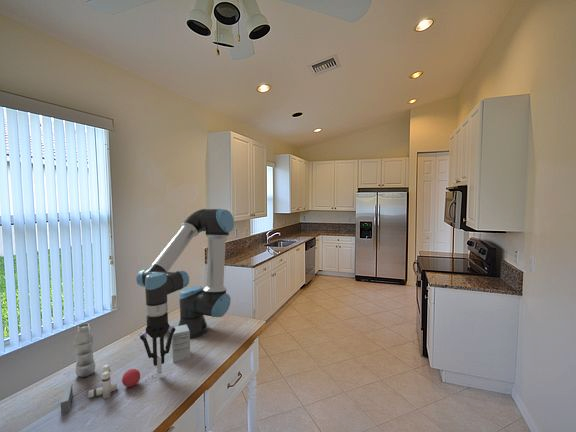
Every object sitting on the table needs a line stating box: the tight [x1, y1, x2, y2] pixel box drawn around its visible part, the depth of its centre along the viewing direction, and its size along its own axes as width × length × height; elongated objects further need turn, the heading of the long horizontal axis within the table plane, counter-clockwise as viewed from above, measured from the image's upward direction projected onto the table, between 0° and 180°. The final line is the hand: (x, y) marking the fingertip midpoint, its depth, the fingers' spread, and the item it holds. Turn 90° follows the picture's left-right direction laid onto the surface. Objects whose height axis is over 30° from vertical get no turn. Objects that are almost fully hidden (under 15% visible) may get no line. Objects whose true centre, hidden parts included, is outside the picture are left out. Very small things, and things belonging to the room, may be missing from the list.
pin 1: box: [101, 363, 112, 384], centre depth 106 cm, size 2×2×8 cm
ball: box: [121, 368, 141, 388], centre depth 108 cm, size 6×6×6 cm
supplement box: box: [170, 325, 191, 363], centre depth 128 cm, size 7×7×13 cm
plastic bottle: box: [73, 323, 97, 378], centre depth 115 cm, size 6×7×20 cm
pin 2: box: [101, 371, 112, 400], centre depth 102 cm, size 2×2×8 cm
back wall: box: [60, 383, 74, 415], centre depth 98 cm, size 2×10×4 cm, turn 31°
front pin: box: [88, 382, 118, 399], centre depth 104 cm, size 2×2×8 cm
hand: (159, 372), depth 113 cm, fingers closed
